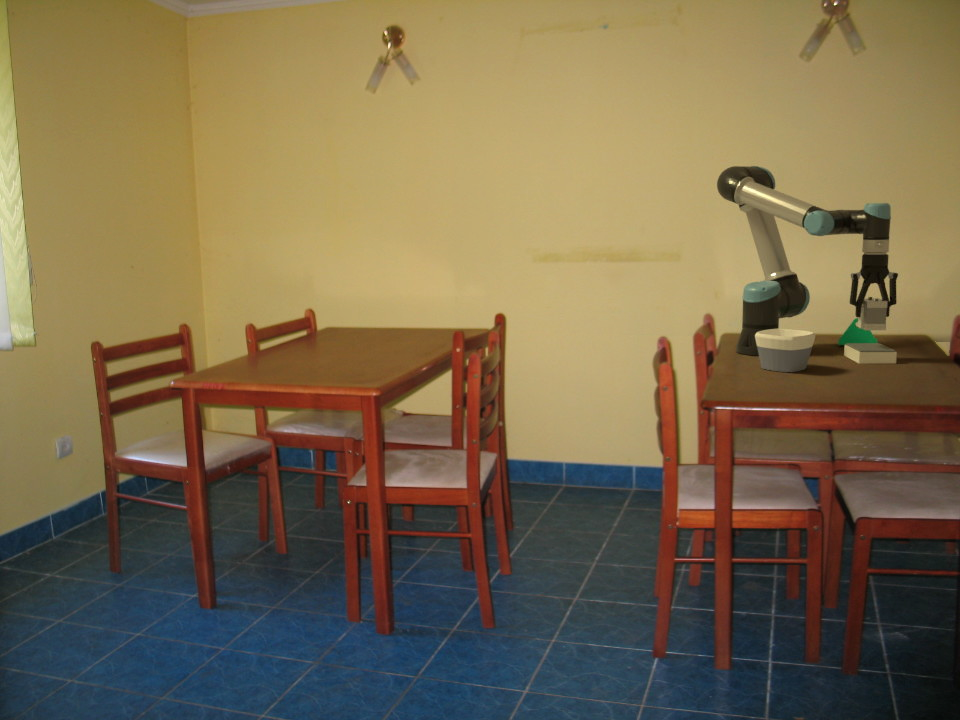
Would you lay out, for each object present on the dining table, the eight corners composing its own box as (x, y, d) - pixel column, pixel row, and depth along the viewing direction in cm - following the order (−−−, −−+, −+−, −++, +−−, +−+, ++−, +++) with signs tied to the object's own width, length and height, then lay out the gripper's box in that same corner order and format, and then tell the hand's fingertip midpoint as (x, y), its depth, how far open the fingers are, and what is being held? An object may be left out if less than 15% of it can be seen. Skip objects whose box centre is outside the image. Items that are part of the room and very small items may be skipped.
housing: (865, 330, 278) (867, 299, 276) (857, 326, 285) (859, 296, 284) (885, 330, 277) (887, 299, 275) (877, 326, 285) (878, 296, 283)
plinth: (859, 363, 276) (859, 350, 276) (844, 355, 291) (844, 343, 290) (896, 363, 275) (896, 350, 274) (879, 355, 290) (879, 343, 289)
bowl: (746, 369, 271) (748, 332, 269) (775, 362, 281) (776, 327, 279) (792, 375, 260) (794, 337, 258) (820, 368, 269) (822, 332, 268)
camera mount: (877, 346, 309) (879, 316, 307) (876, 349, 302) (878, 319, 300) (840, 344, 314) (841, 315, 312) (838, 347, 307) (839, 318, 305)
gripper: (847, 254, 274) (844, 329, 278) (911, 253, 273) (907, 328, 277) (839, 253, 282) (836, 326, 286) (902, 252, 280) (898, 325, 284)
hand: (871, 327), depth 281 cm, fingers closed on housing, 6 cm apart
